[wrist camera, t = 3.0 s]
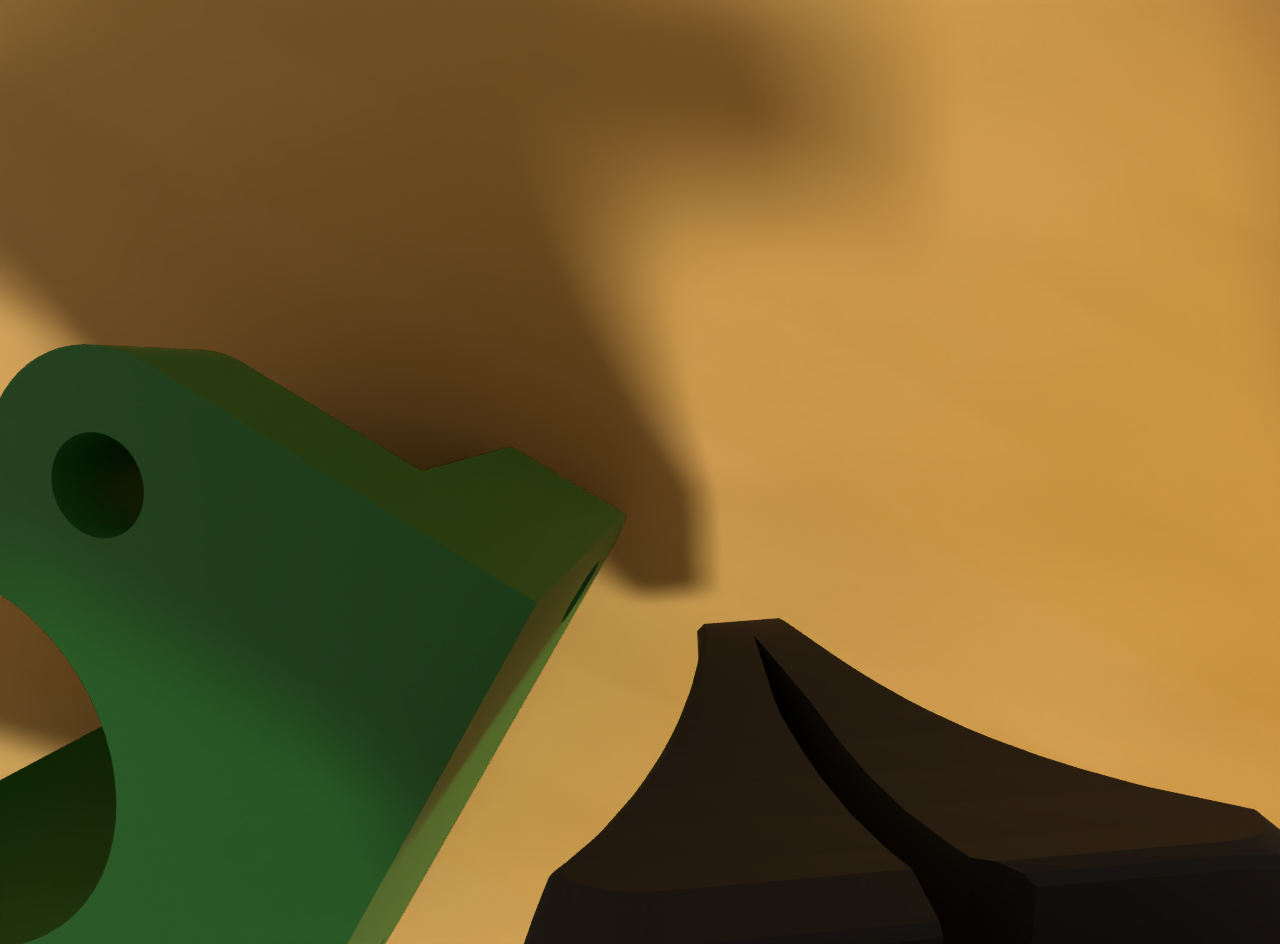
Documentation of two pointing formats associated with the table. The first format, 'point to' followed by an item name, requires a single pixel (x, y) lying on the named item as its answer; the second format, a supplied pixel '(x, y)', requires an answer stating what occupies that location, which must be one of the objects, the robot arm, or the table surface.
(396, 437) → the table surface
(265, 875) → the clamp
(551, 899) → the robot arm
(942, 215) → the table surface
